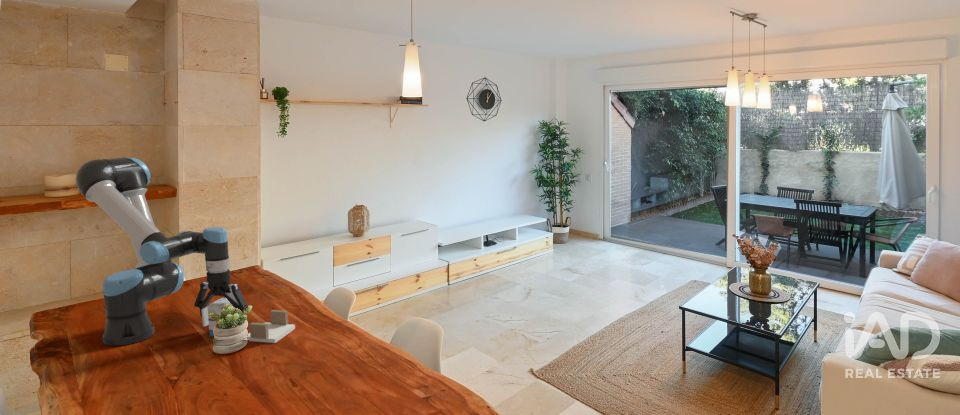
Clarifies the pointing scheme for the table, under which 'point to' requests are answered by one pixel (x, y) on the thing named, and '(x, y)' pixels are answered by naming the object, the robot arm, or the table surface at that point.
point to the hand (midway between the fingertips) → (222, 326)
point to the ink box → (216, 311)
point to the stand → (271, 328)
